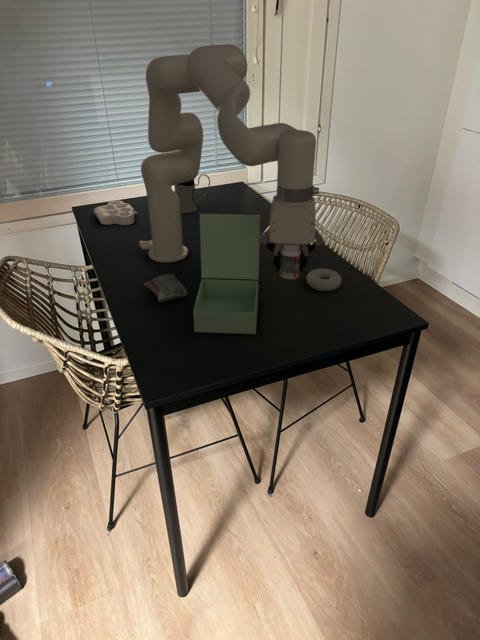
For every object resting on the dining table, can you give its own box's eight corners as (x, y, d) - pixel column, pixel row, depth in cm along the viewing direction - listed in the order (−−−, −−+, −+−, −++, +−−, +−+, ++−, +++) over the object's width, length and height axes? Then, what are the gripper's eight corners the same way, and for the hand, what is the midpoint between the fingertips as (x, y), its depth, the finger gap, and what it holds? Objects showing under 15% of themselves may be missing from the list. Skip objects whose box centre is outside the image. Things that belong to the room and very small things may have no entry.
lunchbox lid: (260, 215, 123) (260, 211, 127) (199, 214, 124) (201, 209, 128) (258, 279, 131) (259, 273, 135) (201, 278, 132) (203, 271, 136)
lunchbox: (255, 334, 121) (256, 313, 118) (194, 332, 122) (193, 311, 119) (258, 300, 135) (258, 280, 131) (202, 298, 135) (201, 278, 132)
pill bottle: (298, 280, 114) (300, 247, 109) (277, 278, 115) (279, 245, 110) (300, 271, 118) (302, 238, 113) (280, 269, 119) (282, 237, 114)
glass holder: (177, 204, 197) (175, 166, 189) (212, 206, 196) (211, 167, 188) (172, 212, 190) (169, 173, 182) (208, 214, 188) (207, 174, 180)
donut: (299, 281, 144) (319, 296, 136) (299, 271, 142) (320, 285, 134) (327, 274, 148) (348, 288, 140) (328, 263, 146) (349, 277, 138)
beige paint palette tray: (92, 212, 189) (129, 206, 195) (103, 229, 176) (143, 222, 182) (90, 204, 188) (128, 198, 193) (102, 220, 174) (142, 213, 180)
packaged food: (159, 309, 131) (157, 292, 128) (143, 289, 139) (142, 274, 137) (189, 301, 134) (188, 285, 132) (172, 282, 143) (171, 267, 140)
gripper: (332, 187, 108) (324, 262, 118) (255, 186, 109) (253, 260, 119) (336, 199, 102) (327, 277, 112) (253, 197, 103) (252, 275, 113)
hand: (289, 268), depth 115 cm, fingers closed on pill bottle, 4 cm apart
